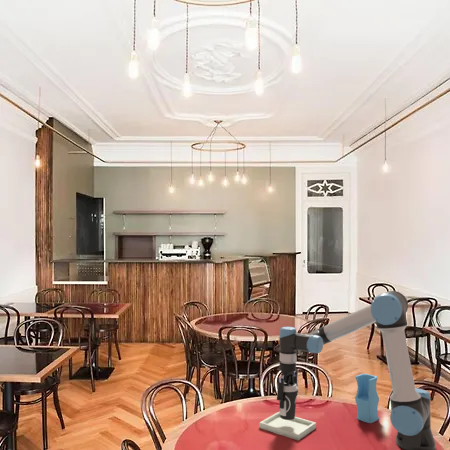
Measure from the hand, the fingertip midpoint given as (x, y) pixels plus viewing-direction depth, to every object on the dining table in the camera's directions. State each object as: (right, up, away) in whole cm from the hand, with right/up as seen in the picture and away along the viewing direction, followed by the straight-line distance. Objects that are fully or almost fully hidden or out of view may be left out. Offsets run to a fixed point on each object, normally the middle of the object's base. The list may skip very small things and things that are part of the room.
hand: (287, 412), depth 204 cm
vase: (+39, -8, +10) cm, 41 cm away
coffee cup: (0, -2, 0) cm, 2 cm away
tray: (0, -7, 0) cm, 7 cm away
